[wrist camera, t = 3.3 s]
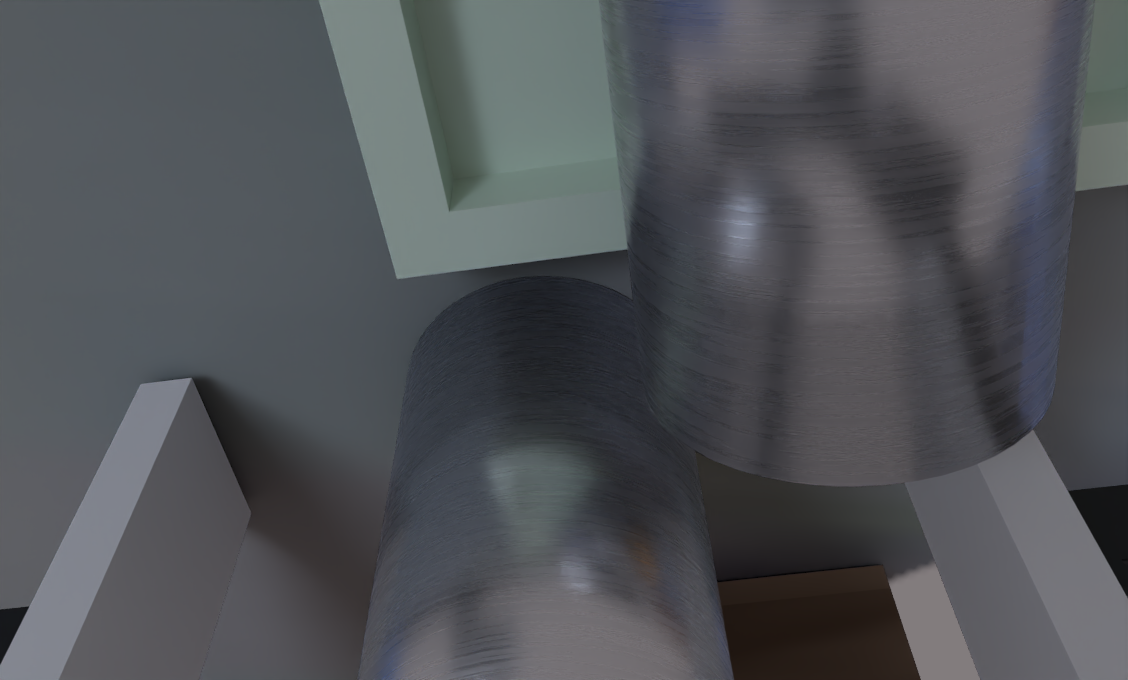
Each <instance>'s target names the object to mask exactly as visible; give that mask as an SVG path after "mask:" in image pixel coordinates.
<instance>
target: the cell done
mask: <svg viewBox="0 0 1128 680" xmlns="http://www.w3.org/2000/svg"><path fill="white" fill-rule="evenodd" d="M599 7H600V16H601V25H602V34H603V42H604V51H605V60H606V68H607V77H608V86H609V94H610V103H611V112H612V121H613V129H614V138H615V147H616V155H617V164H618V173H619V181H620V190H621V199H622V208H623V216H624V225H625V234H626V242H627V251H628V260H629V269H630V277H631V286H632V295H633V303H634V312H635V321H636V329H637V338H638V347H639V356H640V364H641V373H642V382H643V388H644V394H645V398H646V400H647V403H648V405H649V407H650V410H651V412H652V413H653V414H654V416H655V417H656V418H657V420H658V421H659V423H660V424H661V425H662V426H663V427H664V428H665V429H666V430H667V431H668V432H669V433H670V434H671V435H672V436H674V437H675V438H676V439H678V440H679V441H680V442H682V443H683V444H685V445H686V446H688V447H689V448H690V449H692V450H694V451H696V452H698V453H700V454H702V455H703V456H705V457H707V458H709V459H711V460H713V461H716V462H718V463H721V464H724V465H726V466H729V467H731V468H734V469H737V470H740V471H744V472H747V473H750V474H754V475H757V476H761V477H766V478H771V479H776V480H781V481H786V482H792V483H801V484H810V485H819V486H843V487H858V486H881V485H891V484H898V483H906V482H914V481H919V480H924V479H928V478H933V477H938V476H943V475H946V474H949V473H952V472H956V471H959V470H962V469H965V468H968V467H971V466H974V465H976V464H978V463H981V462H983V461H985V460H987V459H990V458H992V457H994V456H996V455H998V454H999V453H1001V452H1003V451H1005V450H1006V449H1008V448H1010V447H1011V446H1013V445H1015V444H1016V443H1017V442H1018V441H1020V440H1021V439H1022V438H1023V437H1025V436H1026V435H1027V434H1028V433H1030V432H1031V431H1032V430H1033V428H1034V427H1035V426H1036V425H1037V424H1038V423H1039V422H1040V420H1041V419H1042V418H1043V417H1044V415H1045V413H1046V411H1047V409H1048V407H1049V406H1050V404H1051V401H1052V397H1053V393H1054V389H1055V380H1056V371H1057V361H1058V351H1059V342H1060V332H1061V323H1062V313H1063V304H1064V294H1065V285H1066V275H1067V265H1068V256H1069V246H1070V237H1071V227H1072V218H1073V208H1074V198H1075V189H1076V179H1077V170H1078V160H1079V151H1080V141H1081V132H1082V122H1083V112H1084V103H1085V93H1086V84H1087V74H1088V65H1089V55H1090V45H1091V36H1092V26H1093V17H1094V7H1095V0H599Z"/></svg>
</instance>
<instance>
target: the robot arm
mask: <svg viewBox="0 0 1128 680" xmlns="http://www.w3.org/2000/svg"><path fill="white" fill-rule="evenodd" d="M905 486H906V488H907V491H908V493H909V496H910V499H911V501H912V504H913V506H914V509H915V511H916V514H917V517H918V519H919V522H920V524H921V527H922V530H923V532H924V535H925V537H926V540H927V543H928V545H929V548H930V550H931V553H932V555H933V558H934V561H935V563H936V566H937V568H938V571H939V573H940V576H941V579H942V581H943V584H944V587H945V589H946V592H947V594H948V597H949V599H950V602H951V605H952V607H953V610H954V612H955V615H956V618H957V620H958V623H959V625H960V628H961V631H962V633H963V636H964V638H965V641H966V643H967V646H968V649H969V651H970V653H971V656H972V659H973V661H974V664H975V667H976V669H977V672H978V674H979V677H980V680H1128V485H1119V486H1110V487H1101V488H1091V489H1082V490H1073V491H1067V489H1066V487H1065V485H1064V484H1063V482H1062V480H1061V478H1060V476H1059V475H1058V473H1057V471H1056V469H1055V467H1054V466H1053V464H1052V462H1051V460H1050V459H1049V457H1048V455H1047V453H1046V451H1045V450H1044V448H1043V446H1042V444H1041V442H1040V441H1039V439H1038V437H1037V435H1036V434H1035V432H1034V430H1032V431H1031V432H1030V433H1028V434H1027V435H1026V436H1025V437H1023V438H1022V439H1021V440H1020V441H1018V442H1017V443H1016V444H1015V445H1013V446H1011V447H1010V448H1008V449H1006V450H1005V451H1003V452H1001V453H999V454H998V455H996V456H994V457H992V458H990V459H987V460H985V461H983V462H981V463H978V464H976V465H974V466H971V467H968V468H965V469H962V470H959V471H956V472H952V473H949V474H946V475H943V476H938V477H933V478H928V479H924V480H919V481H914V482H906V483H905ZM250 516H251V511H250V509H249V507H248V504H247V502H246V500H245V498H244V495H243V493H242V491H241V488H240V486H239V484H238V482H237V479H236V477H235V475H234V473H233V470H232V468H231V466H230V463H229V461H228V459H227V457H226V454H225V452H224V450H223V448H222V445H221V443H220V441H219V438H218V436H217V434H216V432H215V429H214V427H213V425H212V423H211V420H210V418H209V416H208V413H207V411H206V409H205V407H204V404H203V402H202V400H201V398H200V395H199V393H198V391H197V388H196V386H195V384H194V382H193V379H192V378H185V379H177V380H169V381H161V382H153V383H145V384H140V386H139V388H138V390H137V392H136V394H135V396H134V398H133V401H132V402H131V404H130V407H129V409H128V410H127V413H126V415H125V417H124V419H123V421H122V423H121V425H120V427H119V429H118V431H117V433H116V435H115V437H114V439H113V441H112V443H111V445H110V447H109V449H108V451H107V453H106V455H105V457H104V459H103V461H102V463H101V465H100V467H99V469H98V471H97V473H96V475H95V477H94V479H93V481H92V483H91V485H90V487H89V489H88V491H87V493H86V495H85V497H84V499H83V501H82V503H81V505H80V507H79V509H78V511H77V513H76V515H75V517H74V519H73V521H72V523H71V525H70V527H69V529H68V531H67V533H66V535H65V537H64V539H63V541H62V543H61V545H60V547H59V549H58V551H57V553H56V555H55V557H54V559H53V561H52V563H51V565H50V567H49V569H48V571H47V573H46V575H45V577H44V579H43V581H42V583H41V585H40V587H39V589H38V591H37V593H36V595H35V597H34V599H33V601H32V603H31V605H30V607H20V608H11V609H2V610H0V680H199V678H200V675H201V672H202V669H203V666H204V662H205V659H206V656H207V653H208V650H209V646H210V643H211V640H212V637H213V634H214V631H215V627H216V624H217V621H218V618H219V615H220V611H221V608H222V605H223V602H224V599H225V596H226V592H227V589H228V586H229V583H230V580H231V577H232V573H233V570H234V567H235V564H236V561H237V557H238V554H239V551H240V548H241V545H242V542H243V538H244V535H245V532H246V529H247V526H248V522H249V519H250Z"/></svg>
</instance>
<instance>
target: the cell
mask: <svg viewBox="0 0 1128 680" xmlns="http://www.w3.org/2000/svg"><path fill="white" fill-rule="evenodd" d="M357 680H734V678H733V672H732V666H731V660H730V654H729V648H728V642H727V637H726V631H725V625H724V619H723V613H722V607H721V602H720V596H719V590H718V584H717V578H716V572H715V567H714V561H713V555H712V549H711V543H710V537H709V531H708V526H707V520H706V514H705V508H704V502H703V496H702V491H701V485H700V479H699V473H698V467H697V461H696V456H695V451H694V450H692V449H690V448H689V447H688V446H686V445H685V444H683V443H682V442H680V441H679V440H678V439H676V438H675V437H674V436H672V435H671V434H670V433H669V432H668V431H667V430H666V429H665V428H664V427H663V426H662V425H661V424H660V423H659V421H658V420H657V418H656V417H655V416H654V414H653V413H652V412H651V410H650V407H649V405H648V403H647V400H646V398H645V394H644V388H643V382H642V373H641V364H640V356H639V347H638V338H637V329H636V321H635V312H634V303H633V301H632V300H630V299H629V298H627V297H625V296H623V295H621V294H619V293H617V292H616V291H613V290H611V289H608V288H606V287H603V286H601V285H598V284H594V283H590V282H587V281H583V280H579V279H572V278H565V277H550V276H537V277H524V278H518V279H512V280H507V281H502V282H499V283H496V284H493V285H489V286H486V287H484V288H481V289H479V290H477V291H475V292H472V293H470V294H468V295H466V296H465V297H463V298H461V299H460V300H458V301H456V302H455V303H453V304H452V305H451V306H449V307H448V308H447V309H446V310H444V311H443V312H442V313H441V314H440V315H439V316H438V317H437V318H436V319H435V320H434V321H433V322H432V323H431V324H430V325H429V326H428V328H427V329H426V330H425V332H424V333H423V335H422V336H421V338H420V339H419V341H418V343H417V345H416V347H415V349H414V351H413V354H412V357H411V361H410V364H409V368H408V374H407V380H406V386H405V393H404V399H403V405H402V411H401V417H400V423H399V429H398V435H397V441H396V447H395V453H394V460H393V466H392V472H391V478H390V484H389V490H388V496H387V502H386V508H385V514H384V520H383V526H382V533H381V539H380V545H379V551H378V557H377V563H376V569H375V575H374V581H373V587H372V593H371V599H370V606H369V612H368V618H367V624H366V630H365V636H364V642H363V648H362V654H361V660H360V666H359V673H358V679H357Z"/></svg>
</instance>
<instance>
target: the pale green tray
mask: <svg viewBox="0 0 1128 680" xmlns="http://www.w3.org/2000/svg"><path fill="white" fill-rule="evenodd" d="M319 3H320V6H321V10H322V13H323V17H324V21H325V24H326V28H327V31H328V35H329V38H330V42H331V46H332V49H333V53H334V56H335V60H336V63H337V67H338V70H339V74H340V78H341V81H342V85H343V88H344V92H345V95H346V99H347V103H348V106H349V110H350V113H351V117H352V120H353V124H354V128H355V131H356V135H357V138H358V142H359V145H360V149H361V152H362V156H363V160H364V163H365V167H366V170H367V174H368V177H369V181H370V185H371V188H372V192H373V195H374V199H375V202H376V206H377V209H378V213H379V217H380V220H381V224H382V227H383V231H384V234H385V238H386V242H387V245H388V249H389V252H390V256H391V259H392V263H393V267H394V270H395V274H396V277H397V279H402V278H409V277H417V276H425V275H433V274H440V273H448V272H456V271H463V270H471V269H479V268H487V267H494V266H502V265H510V264H518V263H525V262H533V261H541V260H549V259H556V258H564V257H572V256H579V255H587V254H595V253H603V252H610V251H618V250H626V249H627V242H626V234H625V225H624V216H623V208H622V199H621V190H620V181H619V173H618V164H617V155H616V147H615V138H614V129H613V121H612V112H611V103H610V94H609V86H608V77H607V68H606V60H605V51H604V42H603V34H602V25H601V16H600V7H599V0H319ZM1121 185H1128V0H1095V7H1094V17H1093V26H1092V36H1091V45H1090V55H1089V65H1088V74H1087V84H1086V93H1085V103H1084V112H1083V122H1082V132H1081V141H1080V151H1079V160H1078V170H1077V179H1076V189H1075V191H1082V190H1090V189H1097V188H1105V187H1113V186H1121Z"/></svg>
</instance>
